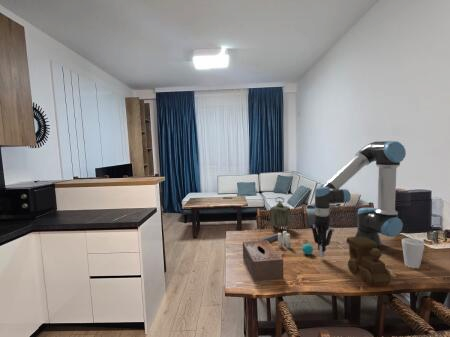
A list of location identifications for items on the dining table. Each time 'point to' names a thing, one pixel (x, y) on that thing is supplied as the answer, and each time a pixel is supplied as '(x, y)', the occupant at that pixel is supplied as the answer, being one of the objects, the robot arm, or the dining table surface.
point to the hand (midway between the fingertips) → (321, 256)
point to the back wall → (270, 238)
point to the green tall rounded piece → (280, 215)
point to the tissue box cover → (262, 260)
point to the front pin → (287, 240)
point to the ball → (307, 249)
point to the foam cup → (412, 252)
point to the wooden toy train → (367, 261)
